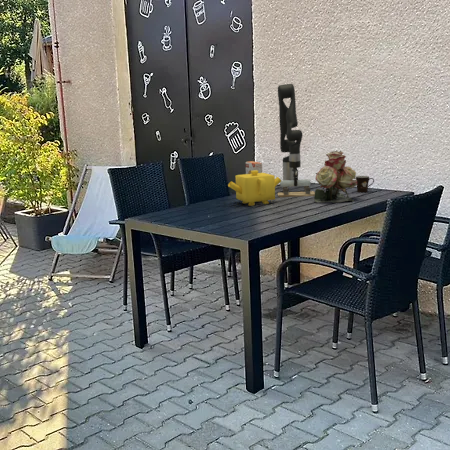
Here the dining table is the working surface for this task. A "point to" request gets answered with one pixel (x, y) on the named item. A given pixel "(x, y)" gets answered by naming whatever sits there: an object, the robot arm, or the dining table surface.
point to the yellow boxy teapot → (255, 187)
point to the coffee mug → (363, 183)
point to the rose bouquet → (334, 179)
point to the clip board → (296, 194)
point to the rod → (291, 183)
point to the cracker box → (253, 167)
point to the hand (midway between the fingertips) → (295, 185)
